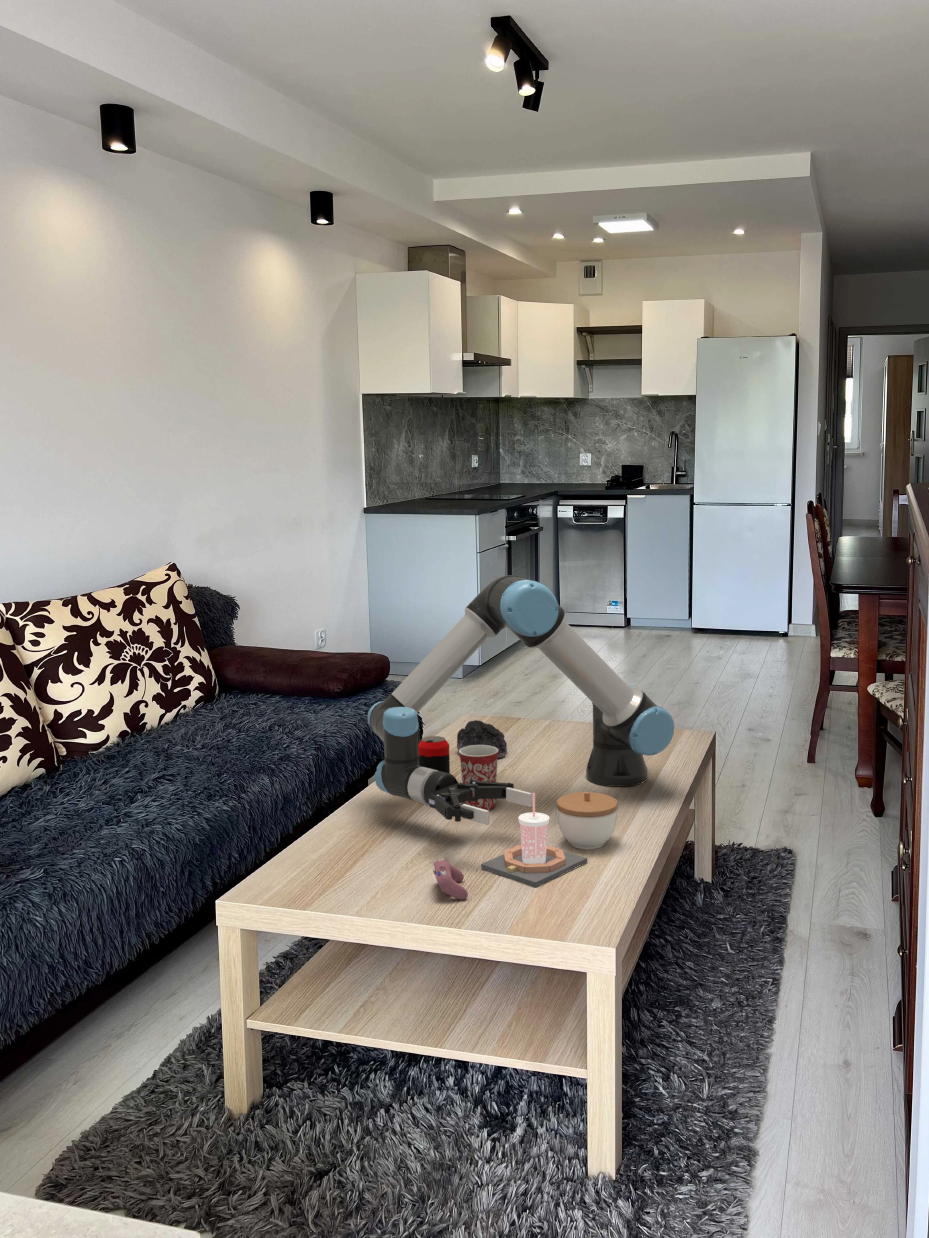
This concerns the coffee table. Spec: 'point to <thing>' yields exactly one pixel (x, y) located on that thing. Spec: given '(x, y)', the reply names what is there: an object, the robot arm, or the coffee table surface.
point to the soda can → (434, 753)
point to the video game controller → (449, 879)
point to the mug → (479, 769)
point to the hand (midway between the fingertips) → (510, 808)
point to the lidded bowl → (587, 818)
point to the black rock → (481, 736)
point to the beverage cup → (533, 836)
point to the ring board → (533, 865)
